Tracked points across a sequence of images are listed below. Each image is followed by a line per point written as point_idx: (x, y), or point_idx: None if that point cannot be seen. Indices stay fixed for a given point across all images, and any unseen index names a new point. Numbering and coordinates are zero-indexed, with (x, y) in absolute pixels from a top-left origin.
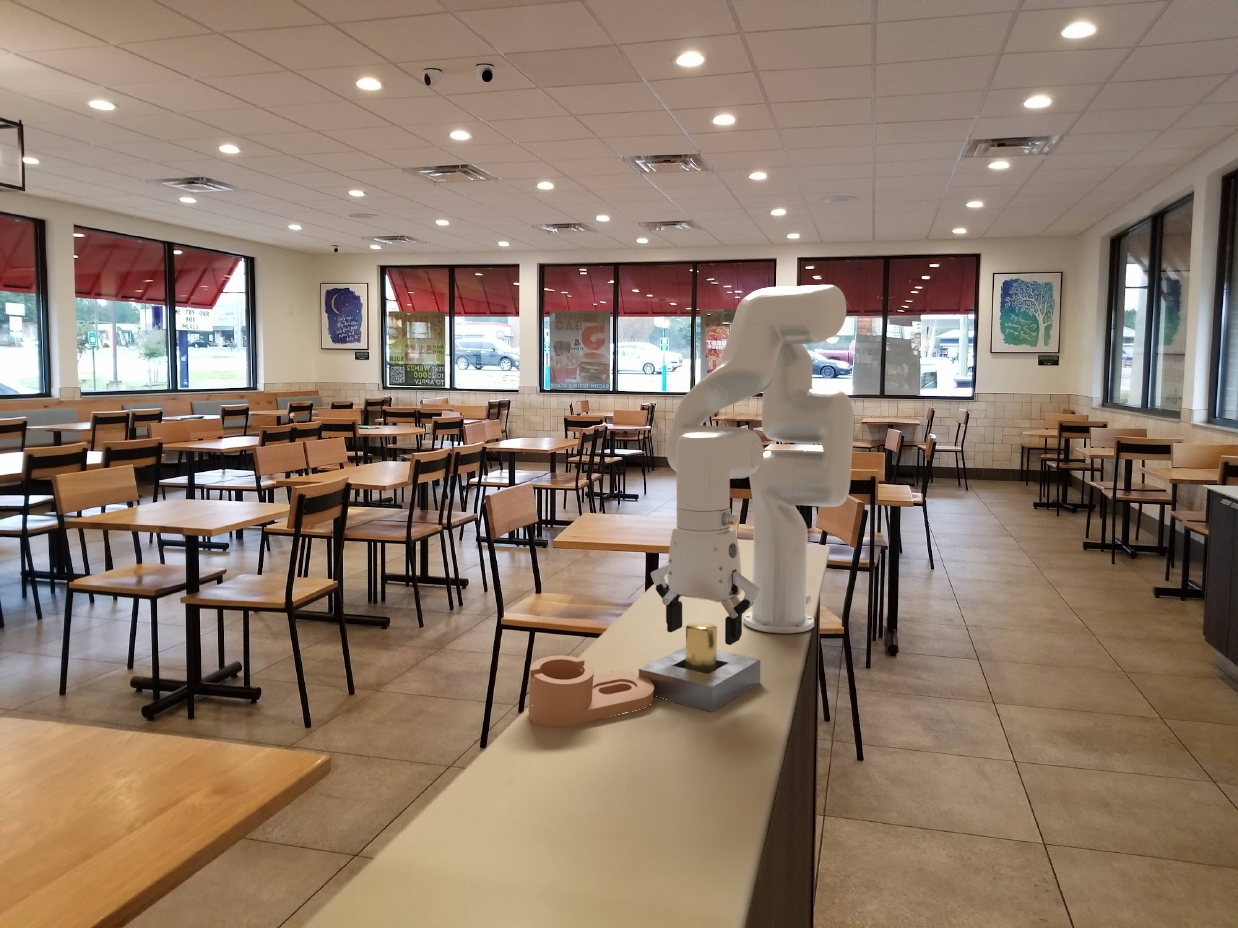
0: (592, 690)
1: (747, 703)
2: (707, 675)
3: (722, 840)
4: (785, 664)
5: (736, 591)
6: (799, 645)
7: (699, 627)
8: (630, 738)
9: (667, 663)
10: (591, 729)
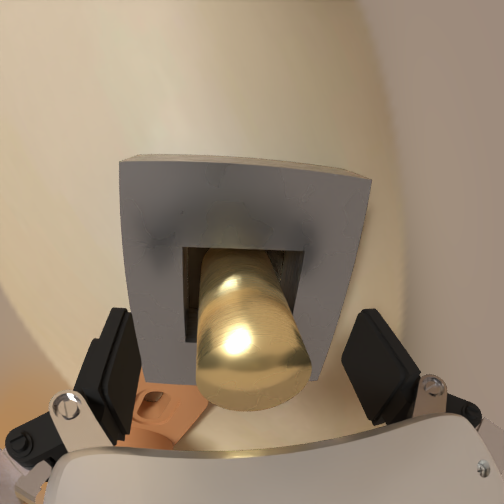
0: (163, 447)
1: (349, 288)
2: None
3: None
4: (349, 25)
5: (451, 419)
6: None
7: (251, 385)
8: (243, 433)
9: (168, 336)
10: (192, 436)
